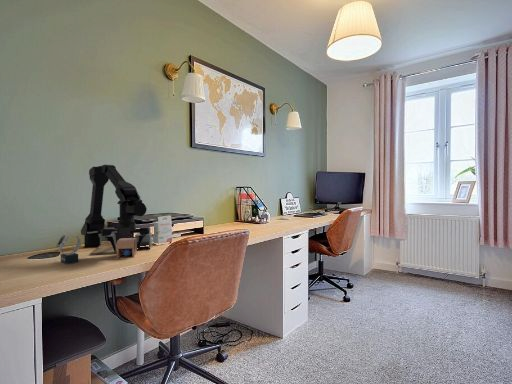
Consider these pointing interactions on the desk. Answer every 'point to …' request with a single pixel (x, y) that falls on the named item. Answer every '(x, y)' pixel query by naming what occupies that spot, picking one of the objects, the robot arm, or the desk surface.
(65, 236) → the watch
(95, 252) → the walnut mat
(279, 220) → the desk surface
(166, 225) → the ink cartridge box
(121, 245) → the tan open box
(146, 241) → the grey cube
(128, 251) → the blue marble
